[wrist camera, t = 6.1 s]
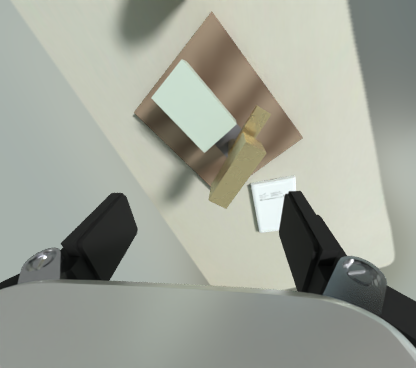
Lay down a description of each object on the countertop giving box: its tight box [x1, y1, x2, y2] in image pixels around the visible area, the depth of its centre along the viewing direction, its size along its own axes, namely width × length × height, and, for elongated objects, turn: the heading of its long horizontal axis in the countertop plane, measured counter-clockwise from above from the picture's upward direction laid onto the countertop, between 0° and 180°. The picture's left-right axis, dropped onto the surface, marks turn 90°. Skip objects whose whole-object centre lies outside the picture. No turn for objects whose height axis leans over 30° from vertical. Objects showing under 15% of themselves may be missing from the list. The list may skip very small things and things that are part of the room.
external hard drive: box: [251, 175, 296, 232], centre depth 38 cm, size 2×8×12 cm
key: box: [209, 105, 271, 208], centre depth 25 cm, size 11×2×13 cm, turn 153°
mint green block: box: [151, 59, 236, 153], centre depth 25 cm, size 10×6×3 cm, turn 43°
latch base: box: [134, 12, 303, 187], centre depth 30 cm, size 22×18×4 cm
